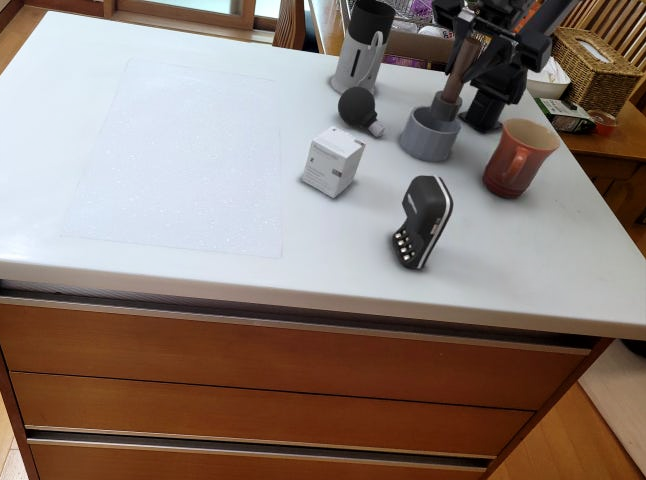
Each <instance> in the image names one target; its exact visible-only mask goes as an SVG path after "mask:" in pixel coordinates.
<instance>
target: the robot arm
mask: <svg viewBox="0 0 646 480" xmlns="http://www.w3.org/2000/svg"><path fill="white" fill-rule="evenodd" d="M583 1H585V0H544V1H543V2H542V3H541V5H540V6H539V7H538V8H537V9H536V10H535V11H534V13H533V14H532V15H531V16H530V17H529V18H528V19H527V17H528V16H529V15H530V10H531V8H532V7H533V6H534V4H536V2H537V0H478V2H477V3H476V10H478V11H479V12H478V13H476V12H475V11H473V10H471V9H469V8H467V7H466V2H465V0H431V2H430V5H431V10H432V11H431V12H432V17H433V21H434V23H435V24H436V25H437V26H438V27H440V28H442V29H444V30H446V31H449V32H450V33H451V32H453V35H454V42H453V46H452V49H451V51H450V55H449V57H448V60H447V63H446V66H445V69H444V76H446V77H449V75H450V72H451V70H452V67H453V65H454V63H455V60H456V58H457V55H458V53H459V50H460V48H461V46H462V43H463V41H464V38H465V37H472V36H473V34H475V33H476V32H477V33H479V34H481V35H483V36H485V37H487V38H489V39H490V41H489V43H488V44H487V46H486V48H485V49H484V50H483V51H482V53H481V54H480V55H479V56H478V57H477V58H476V59H475V61H474V63H473V65H472V66H471V67H470V68H469V69H468V70H467V72H466V73H465V75H464V76H463V78H462V79H461V84H464V85H466V84H467V83H469V86H470V87H473V88H475V89H477V90H476V93H475V95H474V96H473V99H472V100H471V103H470V105H469V107H468V109H467V110H466V111H463V112H458V114H457V118H459V119H461V120H462V121H464V122H465V123H466V124H468V125H469V126H471V127H472V128H474V129H475V130H476V131H478V132H479V133H481V134H485V133H489V132H492V131H494V130H497V129H498V130H499V129H501V128H502V129H503V124H504V123H502V122H500V121H499V119H500V117H501V114H502V112H503V111H504V109H505V108H506V106H509V107H510V106H511V105H515V106H517V105H519V104H520V101H521V100H522V97H523V95H524V93H525V91H526V89H527V83H528V73H529V71H531V72H533V73H535V74H541V72H542V71H543V70H544V68H545V67H546V66H547V65H548V62H549V61H550V60H551V53H552V48H553V39H552V37H551V35H552V33H553V32H554V31H555V30H556V29H557V27H558V26H559V25H560V24H561V23H562V22H563V21H564V19H565V18H566V17H567V16H568V15H569V14H570V13H571V11H573V10H574V8H575V7H576V6H577V4H578V3H580V2H583ZM523 19H524V20H526V19H527V21H526V22H525V23H524V24H523V25H522V27H520V29H519V30H518V31H517V32H514V31H515V29H516V28H517V27H518V26H519V24H520V23H521V21H523Z"/></svg>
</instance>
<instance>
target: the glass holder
mask: <svg viewBox="0 0 646 480" xmlns="http://www.w3.org/2000/svg"><path fill="white" fill-rule="evenodd" d="M396 13H397V10H396V8H394V7H393V6H392V5H390V4H388V3H386V2H385V1H381V0H355V1H354V3H353V7H352V11H351V14H350V19H349V22H348V26H347V27H346V30H345V34H344V37H343V42H342V46H341V49H340V54H339V58H338V61H337V65H336V69H335V72H334V75H333V77H332V78H331V79H330V86H331V87H332V88H333V90H334V91H336V92H338V93H340V94H341V95H342V94H343V93H344V92H345V91H346V90H347V89H349V88H352V87H363V88H365V89H367V90H369V91H370V92H371V94H372V95H373V96H374V95H375V92H376V91H375V84H376V80H377V78H378V75H379V70H380V68H381V64H382V61H383V58H384V55H385V52H386V49H387V47H388V46H387V45H388V43H389V38H390V34H391V30H392V27H393V24H394V20H395V17H396Z"/></svg>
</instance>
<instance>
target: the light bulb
mask: <svg viewBox="0 0 646 480" xmlns="http://www.w3.org/2000/svg"><path fill="white" fill-rule="evenodd" d="M337 112H338V114H339V116H340V118H341V119H342V120H343V121H344V122H345V123H346V124H348V125H351V126H359V127H360V128H361V129H365V128H367V130H369V131H370V133H371V134H372V135H373V136H374V137H375V138H378V137H380V136H383V135H384V131H385V129H386V128H385V127H384V125H383V124H382V123H381V122H380V121H379V120H378V118H377V117H378V112H377V111H376V100H375V97H374V94H373V95H372V94H371V92H370V91H369V90H367V89H365V88H363V87H352V88H349V89H347V90H346V91H345V92H344V93H343V94H341V95H340V97H339V98H338V103H337Z"/></svg>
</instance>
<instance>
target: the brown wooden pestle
mask: <svg viewBox="0 0 646 480" xmlns="http://www.w3.org/2000/svg"><path fill="white" fill-rule="evenodd" d="M482 45H483V42H482V41H481V40H480V39H478V38H476V37H465V38H464V41H463V43H462V46H461V48H460V50H459V53H458V55H457V58H456V60H455V63H454V65H453V67H452V70H451V72H450V74H449V75H448V76H447V80H446V82H445V85H444V87H443V90H438V91H436V92H435V94H434V97H433V99H432V100H431V101H432V102H431V104H430V105H429V106H430V109H429V113H430V115H431V116H432V117H434V118H435V119H437V120H440V121H443V122H452V121H454V120H455V119H456V118H457V117H458V114H459V113H460V109H461V107H462V105H463V102H464V101H463V99H462V97H461V96H460V95H461V93H462V90H463V88H464V86H465V84H461V79H462V78H463V76H464V75H465V73H466V72H467V70H468V69H469V68H470V67H471V66H472V65H473V63H474V62H475V61H476V59H477V56H478V55H479V52H480V49H481V47H482Z"/></svg>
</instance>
